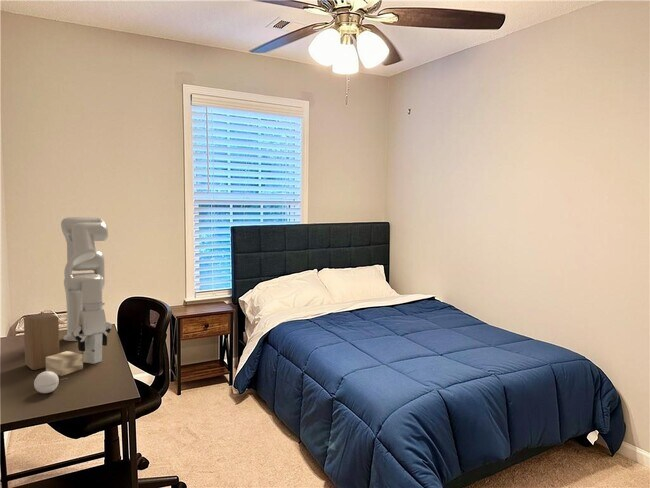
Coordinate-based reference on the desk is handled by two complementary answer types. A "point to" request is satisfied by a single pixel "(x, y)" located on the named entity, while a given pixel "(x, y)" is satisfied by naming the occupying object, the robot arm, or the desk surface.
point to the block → (40, 339)
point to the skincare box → (93, 348)
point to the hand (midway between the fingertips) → (93, 347)
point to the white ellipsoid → (46, 382)
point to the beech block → (64, 362)
